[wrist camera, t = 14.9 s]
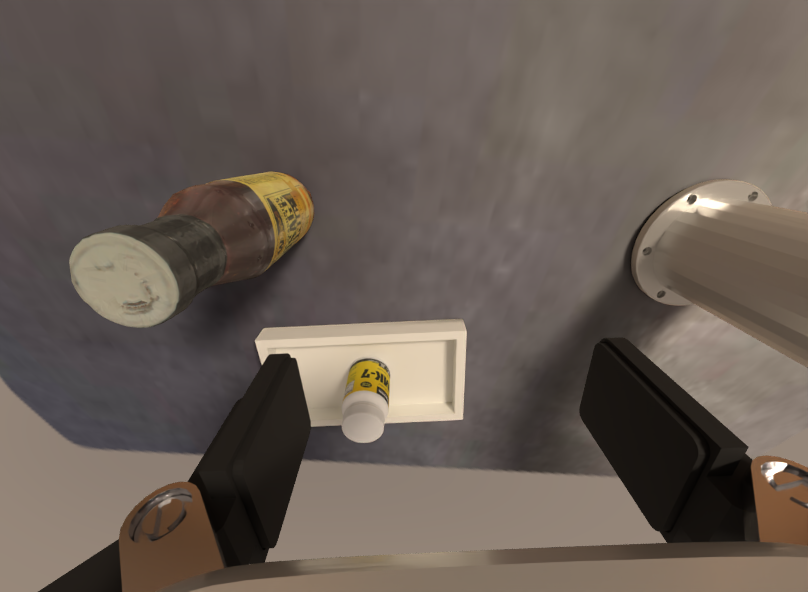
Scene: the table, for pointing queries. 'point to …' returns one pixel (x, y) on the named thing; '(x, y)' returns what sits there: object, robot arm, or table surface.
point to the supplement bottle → (366, 400)
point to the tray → (392, 343)
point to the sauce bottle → (191, 247)
